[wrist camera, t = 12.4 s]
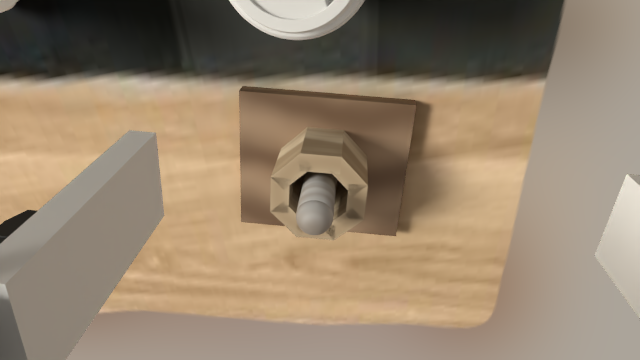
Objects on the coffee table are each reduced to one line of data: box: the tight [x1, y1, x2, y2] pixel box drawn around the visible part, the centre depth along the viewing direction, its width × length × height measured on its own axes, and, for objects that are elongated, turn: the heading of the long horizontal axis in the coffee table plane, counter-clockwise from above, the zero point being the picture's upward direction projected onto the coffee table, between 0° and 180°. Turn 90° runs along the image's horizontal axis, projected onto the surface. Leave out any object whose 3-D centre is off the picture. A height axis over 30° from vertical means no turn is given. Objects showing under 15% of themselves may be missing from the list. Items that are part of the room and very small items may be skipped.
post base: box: [239, 86, 416, 236], centre depth 43 cm, size 14×16×12 cm
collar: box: [270, 127, 368, 240], centre depth 44 cm, size 8×8×6 cm
